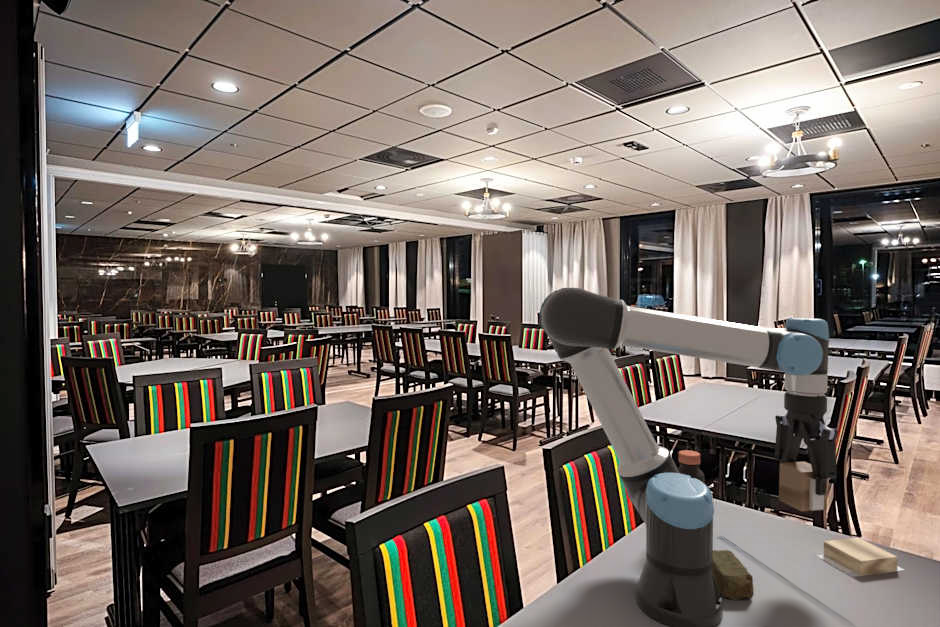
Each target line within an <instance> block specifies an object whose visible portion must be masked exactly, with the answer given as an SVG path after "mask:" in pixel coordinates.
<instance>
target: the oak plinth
mask: <svg viewBox="0 0 940 627" xmlns="http://www.w3.org/2000/svg"><path fill="white" fill-rule="evenodd" d="M823 555H825V556H827V557H829V558H830V559H832V560H834V561H836V562H837V563H839V564H841V565H843V566H845V567H846V568H848V569H850V570H852V571H853V572H855V573H857V574H859V575H861V576H860V577H862V575H864V576H871V575H870V574H872V575H878V573H880V574H887V573H894V572H893V571H895V572H898V571H897V566H898V556H897V555H895V554H893V553H890V552H888V551H886V550H884V549H883V548H880V547H879V546H876V545H874V544H872V543H870V542H868V541H866V540H864V539H861V538H860V537H852V538H851V537H850V538H843V539H835V540H834V539H832V540H825V541H823ZM886 572H887V573H886Z"/></svg>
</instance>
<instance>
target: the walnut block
mask: <svg viewBox="0 0 940 627" xmlns="http://www.w3.org/2000/svg"><path fill="white" fill-rule="evenodd" d="M778 473H779V478H778V479H779V480H778V481H779V482H778V501H780V502H782V503H784V504H785V505H788V506H789V507H792V508H794V509H796V510H798V511H800V512H810V511H811V512H812V511H814V510H810V509H809V495H810V476H813V471H812V467H811V463H809V462H807V461H795V462H789V463H781V462H779V472H778ZM820 473H821V471H820ZM828 482H829V479H827V484H826V495H824V510H828V509H827V508H828ZM824 510H823V511H824Z"/></svg>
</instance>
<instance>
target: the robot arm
mask: <svg viewBox="0 0 940 627" xmlns="http://www.w3.org/2000/svg"><path fill="white" fill-rule="evenodd" d="M539 322H540V323H539V324H540V326H541V328H542V330H543V332H545V333H546V335H547V337H548V338H549V341H550V343H551V345H552V346H553V348H554V350H555V352H556V354H557V356H558V358H559V360H560V361H563V362H567V363H568V364H570V367H571V368H572V370H573V372H574V374H575V376H576V378H577V380H578V382H579V383H580V386H581V387H582V390H583V391H584V393H585V395H586V397H587V400H588V401H589V404H590V405H591V407H592V409H593V411H594V413H595V415H596V417H597V419H598V421H599V423H600V424H601V425H600V426H601V427H602V429H603V431H604V433H605V434H606V436H607V439H608V440H609V442H610V444H611V446H612V449H613V450H614V453H615V454H616V457H617V458H618V461H619V463H618V466H617V469H616V471H617V474H618V477H620V479H621V482H622V484H623V486H624V488H625V491H626V494H627V497H628V500H630V502H631V503H632V505H633V506H634V507H635V509H636V511H637V512H638V514H639V515H640V517H641V519H642V521H643V522H644V524H645V528H646V530H645V536H646V537H645V541H646V542H645V547H646V548H645V549H646V550H645V562H644V564H643V567H642V570H641V573H640V577H639V580H638V581H637V585H636V594H635V595H636V599H635V600H636V603H637V605H638V606H639V608H640V609H641V610H642V611H643V613H645V614H646V615H648V616H649V617H650V618H651V619H654V620H655V621H657V622H659V623H662V624H664V625H667V626H669V627H715V626H716V625H719V623H720V622H721V621H722V619H723V615H724V613H723V612H724V611H723V607H724V604H723V600H722V596H721V593H720V592H719V589H718V586H717V583H716V580H715V577H714V574H713V570H712V560H713V550H714V549H713V548H714V514H715V506H714V502H713V494H712V491H711V489H710V488H709V486H707V485H706V484H705V482H704V483H703V482H701V481H700V480H698V479H696V478H691V476H688V475H684V474H680V473H679V471H678V467H677V465H676V463H675V461H674V458H673V457H672V455H671V454H670V451H669V449H667V448H666V447H663V446H662V445H661V446H660V445H658V444H657V442H656V440H655V438H654V436H653V434H652V432H651V430H650V428H649V427H648V424H647V422H646V420H645V418H644V416H643V415H642V413H641V410H640V408H639V407H638V405H637V403H636V401H635V399H634V397H633V395H632V394H631V391H630V389H629V387H628V385H627V383H626V380H625V379H624V377H623V375H622V373H621V371H620V370H619V367H618V366H617V363H616V360H614V358H613V355H612V353H611V351H612V350H616V349H618V348H619V347H621V346H623V347H629V348H635V349H642V350H647V351H653V352H660V353H665V354H672V355H679V356H683V357H690V358H696V359H703V360H709V361H715V362H722V363H728V364H734V365H740V366H746V367H753V368H757V369H763V370H769V371H776V372H782V373H784V389H785V390H786V392H785V393H784V401H783V405H784V406H783V407H784V409H785V410H786V411H787V412H786V414H781V415H780V414H779V415H775V418H774V419H775V423H776V432H775V434H776V435H775V445H774V447H775V448H774V459H775V461H778V462H779V463H789V462H797V458H798V455H799V454H798V453H799V451H800V449H801V448H800V447H801V445H802V441H803V442H804V444H805V445H806V448H807V452H808V457H809V462H810V464H811V467H812V471H813V476H810V495H809V509H810V510H813V511H824V495H826V484H827V485H828V482H827V479H828V480H831V479H837V475H838V473H837V472H838V471H837V450H836V449H837V448H836V446H837V444H836V440H837V437H838V433H839V432H838V431H839V430H838V429H836V428H830V427H828V426H827V425H826V422H825V420H824V416H825V414H827V412H828V396H827V395H825V394H826V393H827V392H828V371H829V370H828V369H829V343H830V334H829V333H830V332H829V325H828V322H827V321H826V320H825V319H822V318H810V317H809V318H806V317H802V318H801V317H796V318H795V317H793V318H792V317H791V318H788V319H786V321H785V325H784V327H777V328H776V327H763V326H756V325H748V324H743V323H739V322H738V323H736V322H731V321H730V322H729V321H725V320H724V321H723V320H717V319H711V318H705V317H699V316H692V315H688V314H681V313H674V312H668V311H661V310H656V309H649V308H643V307H635V306H630V305H627V304H626V302H625V301H624V300H623V299H619V298H614V297H609V296H605V295H602V294H597V293H595V292H592V291H588V290H586V289H583V288H579V287H562V288H560V289H557V290H554V291H553V292H552V293H549V294H548V295H547V296H546V298H544V300H543V301H542V304H541V306H540V309H539ZM610 350H611V351H610ZM820 471H821V473H820Z"/></svg>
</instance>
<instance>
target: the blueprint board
mask: <svg viewBox="0 0 940 627" xmlns="http://www.w3.org/2000/svg"><path fill="white" fill-rule="evenodd" d="M816 557H817V558H819V559H820V560H822V561H824V562H826V563H828V564H829V565H831V566H833V567H834V568H837V570H840V571H842V572H843V573H844V574H846V575H849V576H850V577H853V578H854V577H862V576H863V577H864V576H865V575H862V576H861V575H859V574H857V573H855V572H853V571H852V570H850V569H848V568H846V567H845V566H843V565H841V564H839V563H837V562H836V561H834V560H832V559H830V558H829V557H827V556H825V555H824V554H819V555H816ZM902 571H905V569H904V568H902V567H900V566H899V565H897V571H893V572H892V573H894V572H895V573H896V572H902ZM887 573H888V572H886V573H885V574H887ZM878 574H880V575H881V573H878ZM878 574H877V575H878ZM871 575H873V574H870V575H869V576H871Z"/></svg>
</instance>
